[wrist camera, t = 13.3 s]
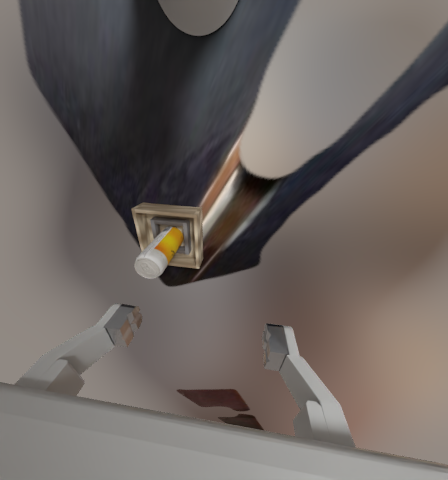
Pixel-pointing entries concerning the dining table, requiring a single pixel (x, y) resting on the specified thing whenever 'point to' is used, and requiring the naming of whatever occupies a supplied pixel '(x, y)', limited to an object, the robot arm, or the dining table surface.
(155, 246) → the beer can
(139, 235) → the crate
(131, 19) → the dining table surface
